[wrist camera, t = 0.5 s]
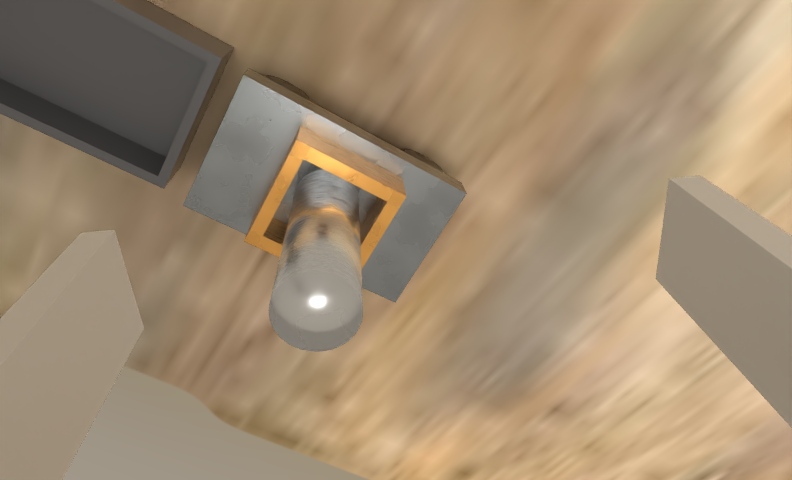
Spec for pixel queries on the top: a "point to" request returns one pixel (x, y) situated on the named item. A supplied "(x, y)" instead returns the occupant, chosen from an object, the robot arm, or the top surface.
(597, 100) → the top surface
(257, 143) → the plate with orange frame
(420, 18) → the top surface
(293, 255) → the pin
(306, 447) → the top surface
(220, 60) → the pin tray
